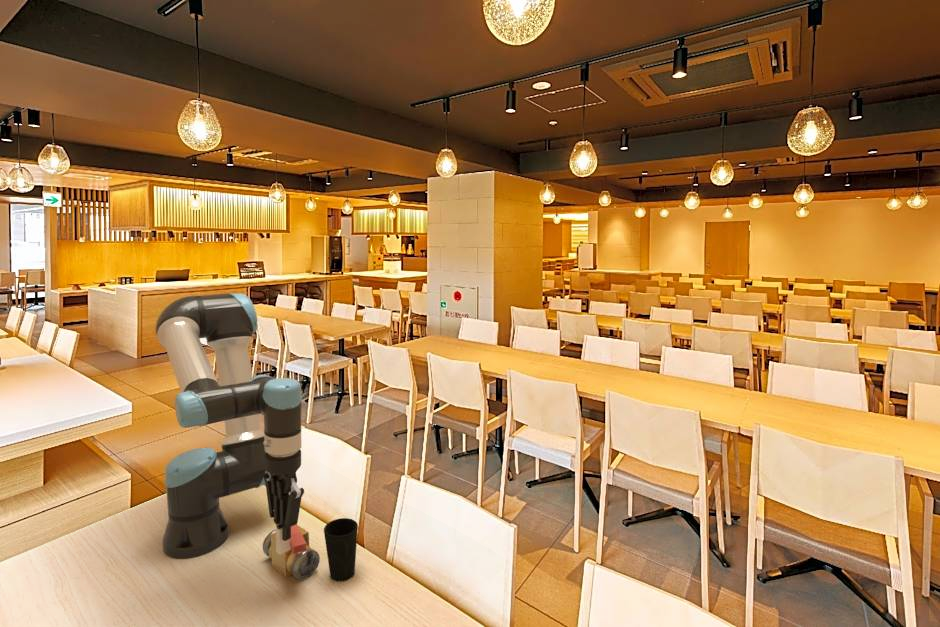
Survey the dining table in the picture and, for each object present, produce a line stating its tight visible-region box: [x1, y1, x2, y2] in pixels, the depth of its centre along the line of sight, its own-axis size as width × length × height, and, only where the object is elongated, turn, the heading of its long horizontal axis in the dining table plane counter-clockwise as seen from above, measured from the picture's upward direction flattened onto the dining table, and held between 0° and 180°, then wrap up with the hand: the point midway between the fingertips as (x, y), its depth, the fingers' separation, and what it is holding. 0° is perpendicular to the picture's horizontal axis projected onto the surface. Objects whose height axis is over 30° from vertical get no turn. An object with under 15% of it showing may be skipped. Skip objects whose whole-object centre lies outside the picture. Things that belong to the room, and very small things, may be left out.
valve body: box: [262, 524, 321, 581], centre depth 123 cm, size 14×7×10 cm, turn 51°
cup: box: [323, 517, 359, 583], centre depth 120 cm, size 8×8×12 cm
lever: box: [290, 523, 306, 554], centre depth 118 cm, size 13×4×2 cm, turn 31°
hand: (283, 550), depth 114 cm, fingers closed
